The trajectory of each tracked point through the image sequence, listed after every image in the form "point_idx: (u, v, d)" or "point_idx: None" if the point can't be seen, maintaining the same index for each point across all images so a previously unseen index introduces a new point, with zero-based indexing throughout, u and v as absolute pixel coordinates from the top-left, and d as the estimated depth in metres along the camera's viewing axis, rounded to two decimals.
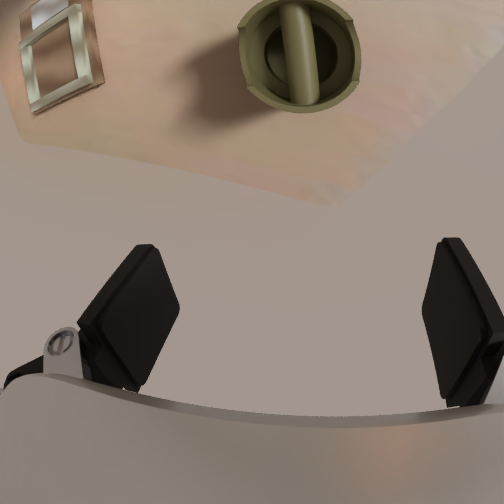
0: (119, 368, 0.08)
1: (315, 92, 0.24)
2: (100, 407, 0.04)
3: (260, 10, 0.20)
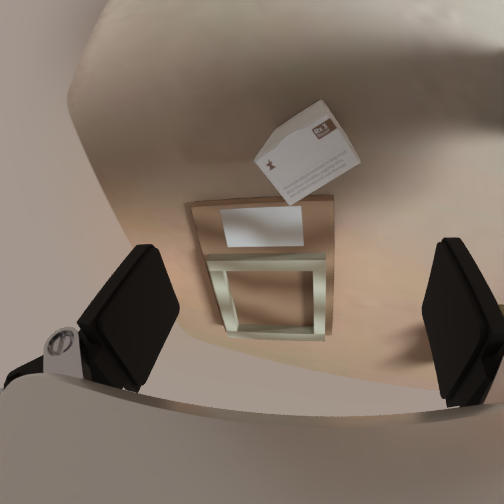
0: (119, 368, 0.08)
1: None
2: (100, 407, 0.04)
3: None
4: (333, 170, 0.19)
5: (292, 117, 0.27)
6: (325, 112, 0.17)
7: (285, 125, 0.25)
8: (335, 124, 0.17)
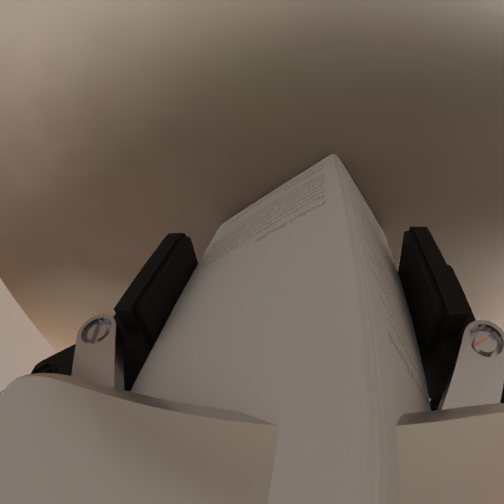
0: None
1: None
2: (100, 407, 0.04)
3: None
4: None
5: (257, 204, 0.11)
6: None
7: (224, 261, 0.09)
8: None
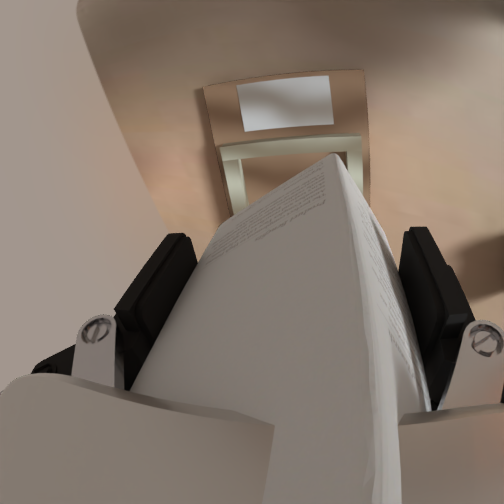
0: None
1: None
2: (100, 407, 0.04)
3: None
4: None
5: (257, 204, 0.11)
6: None
7: (224, 260, 0.09)
8: None
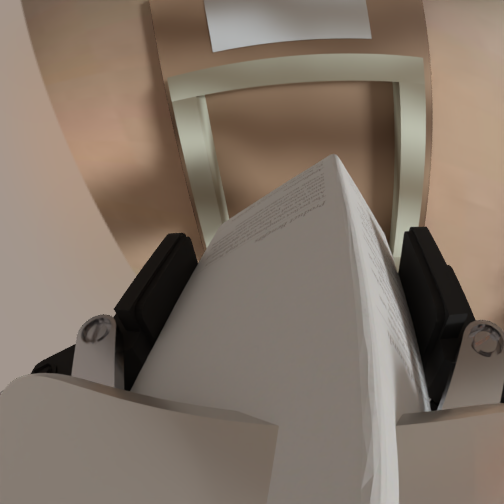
0: None
1: None
2: (100, 407, 0.04)
3: None
4: None
5: (257, 205, 0.11)
6: None
7: (224, 262, 0.09)
8: None
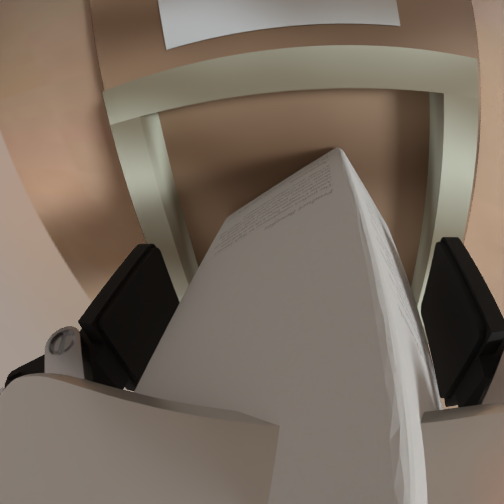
0: (120, 368, 0.08)
1: None
2: (100, 407, 0.04)
3: None
4: None
5: (264, 196, 0.12)
6: None
7: (234, 249, 0.09)
8: None
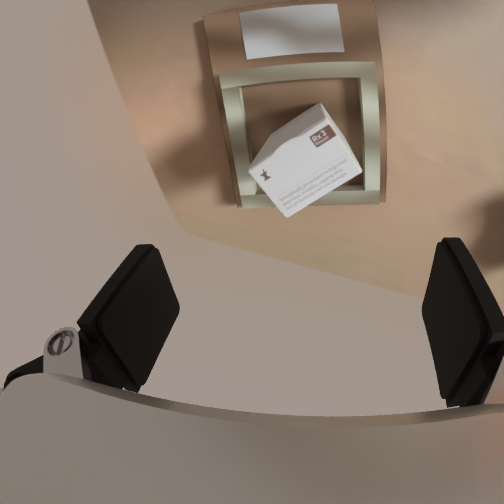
0: (118, 368, 0.08)
1: None
2: (100, 407, 0.04)
3: None
4: (333, 180, 0.18)
5: None
6: (324, 118, 0.16)
7: (281, 130, 0.23)
8: (334, 131, 0.16)
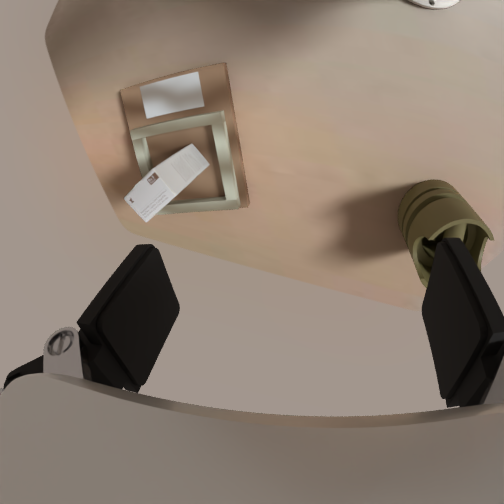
0: (119, 368, 0.08)
1: None
2: (100, 407, 0.04)
3: None
4: (162, 201, 0.32)
5: None
6: (152, 169, 0.31)
7: None
8: (158, 175, 0.31)
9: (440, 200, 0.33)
